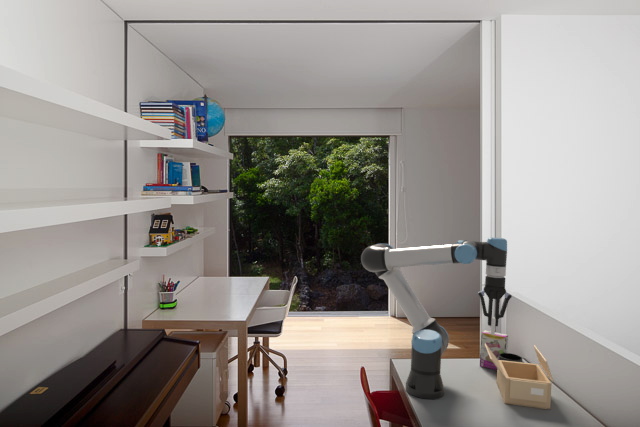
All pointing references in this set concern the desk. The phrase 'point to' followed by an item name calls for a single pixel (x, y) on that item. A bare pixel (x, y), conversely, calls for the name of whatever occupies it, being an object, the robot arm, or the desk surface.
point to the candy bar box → (492, 348)
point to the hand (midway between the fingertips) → (492, 333)
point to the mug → (510, 357)
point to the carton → (524, 384)
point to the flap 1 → (494, 359)
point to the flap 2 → (543, 363)
